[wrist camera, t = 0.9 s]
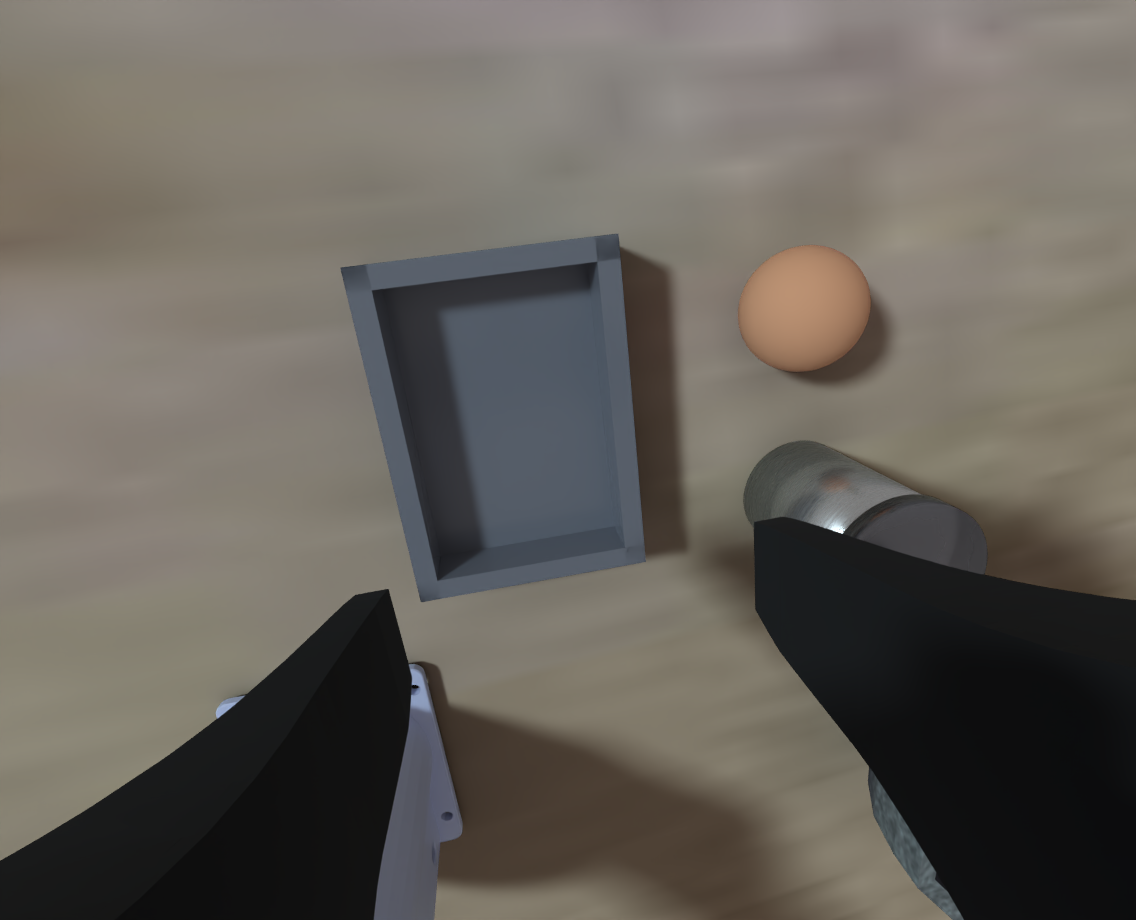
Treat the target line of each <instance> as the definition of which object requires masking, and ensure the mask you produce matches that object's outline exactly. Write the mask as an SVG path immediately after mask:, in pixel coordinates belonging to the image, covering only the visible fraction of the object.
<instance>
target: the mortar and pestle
mask: <svg viewBox="0 0 1136 920" xmlns="http://www.w3.org/2000/svg"><path fill="white" fill-rule="evenodd" d="M868 785H869V791H870V796H871V802H872V808H873V814H874V817H875V819H876V821H877V823H878V825H879V827H880V829H881V831H882V833H883V835H884V836H885V838H886V840H887V842H888V844H889V846H890V848H891V850H892V852H893V854H894V855H895V856H896V858H897V859H898V861H899V862H900V864H901V865H902V866H903V868H904V869H905V871H906V872H907V873H908V875H909V876H910V878H911V879H912V881H913V882H914V883H915V885H916V886H917V888H918V889H919V890H921V891H922V892H923V893H924V894H925V895H926V896H927V897H928V898H929V899H930V900H932V901H933V902H934V903H935V904H936V905H937V906H938V907H939V908H940V909H941V910H943V911H944V912H945V913H946V914H947V915H948V916H949V917H950V918H951V919H953V920H964V919H963V917H962V916H961V914H960V912H959V910H958V909H957V907H956V905H955V903H954V902H953V900H952V898H951V897H950V895H949V893H948V891H947V890H946V888H945V886H944V885H943V883H942V881H941V880H940V878H939V876H938V875H937V873H936V871H935V870H934V868H933V867H932V865H931V863H930V862H929V860H928V858H927V857H926V855H925V853H924V852H923V850H922V849H921V847H920V845H919V844H918V842H917V840H916V839H915V837H914V836H913V834H912V832H911V831H910V829H909V827H908V826H907V824H906V823H905V821H904V819H903V818H902V816H901V815H900V813H899V812H898V810H897V809H896V807H895V805H894V804H893V802H892V801H891V799H890V798H889V796H888V795H887V793H886V792H885V790H884V788H883V787H882V785H881V784H880V782H879V781H878V779H877V778H876V776H875V774H874V773H873V771H872V770H871V769H870V767H869V775H868Z"/></svg>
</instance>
